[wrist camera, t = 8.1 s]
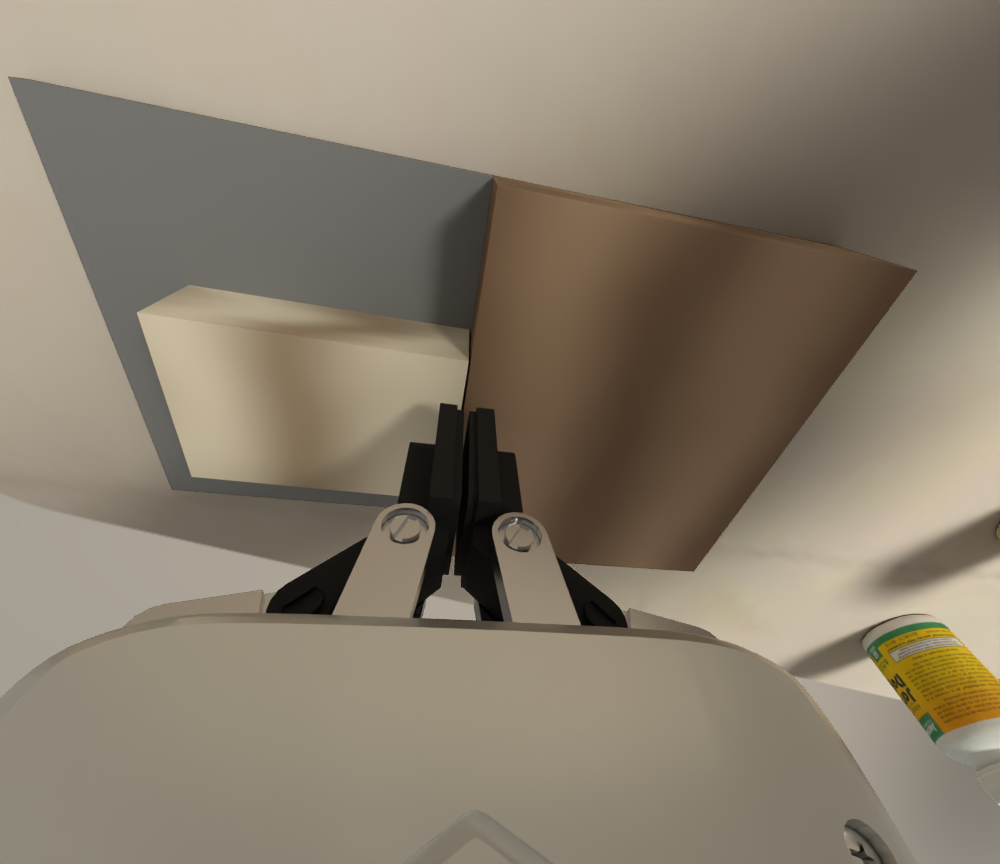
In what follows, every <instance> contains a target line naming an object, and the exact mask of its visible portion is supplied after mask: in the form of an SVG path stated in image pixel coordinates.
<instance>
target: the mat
mask: <svg viewBox="0 0 1000 864" xmlns="http://www.w3.org/2000/svg"><path fill="white" fill-rule="evenodd" d="M8 78H9V80H10V83H11V85H12V88H13V91H14V93H15V96H16V98H17V101H18V103H19V106H20V108H21V111H22V113H23V116H24V118H25V121H26V123H27V126H28V128H29V131H30V133H31V136H32V138H33V141H34V143H35V146H36V148H37V151H38V153H39V156H40V159H41V161H42V164H43V166H44V169H45V171H46V174H47V176H48V179H49V181H50V184H51V186H52V189H53V191H54V194H55V196H56V199H57V201H58V204H59V206H60V209H61V211H62V214H63V216H64V219H65V221H66V224H67V227H68V229H69V232H70V234H71V237H72V239H73V242H74V244H75V247H76V249H77V252H78V254H79V257H80V259H81V262H82V264H83V267H84V269H85V272H86V274H87V277H88V279H89V282H90V284H91V287H92V289H93V292H94V295H95V297H96V300H97V302H98V305H99V307H100V310H101V312H102V315H103V317H104V320H105V322H106V325H107V327H108V330H109V332H110V335H111V337H112V340H113V342H114V345H115V347H116V350H117V352H118V355H119V358H120V360H121V363H122V365H123V368H124V370H125V373H126V375H127V378H128V380H129V383H130V385H131V388H132V390H133V393H134V395H135V398H136V400H137V403H138V405H139V408H140V410H141V413H142V415H143V418H144V420H145V423H146V426H147V428H148V431H149V433H150V436H151V438H152V441H153V443H154V446H155V448H156V451H157V453H158V456H159V458H160V461H161V463H162V466H163V468H164V471H165V473H166V476H167V478H168V481H169V483H170V486H171V488H172V490H182V491H194V492H207V493H219V494H231V495H243V496H256V497H268V498H280V499H292V500H305V501H317V502H329V503H341V504H354V505H366V506H378V507H390V506H393V505H395V504H397V503H398V498H399V496H392V495H381V494H371V493H360V492H349V491H338V490H328V489H317V488H306V487H296V486H285V485H274V484H263V483H253V482H242V481H231V480H220V479H210V478H199V477H191V474H190V471H189V468H188V465H187V462H186V459H185V456H184V453H183V450H182V447H181V444H180V441H179V438H178V435H177V432H176V429H175V426H174V423H173V420H172V417H171V414H170V411H169V408H168V405H167V402H166V399H165V396H164V393H163V390H162V387H161V384H160V381H159V378H158V375H157V372H156V369H155V366H154V363H153V360H152V357H151V354H150V351H149V348H148V345H147V342H146V339H145V336H144V333H143V330H142V327H141V324H140V321H139V318H138V315H137V312H139V311H141V310H143V309H144V308H146V307H148V306H150V305H152V304H154V303H156V302H158V301H160V300H161V299H163V298H165V297H167V296H169V295H171V294H173V293H175V292H176V291H178V290H180V289H182V288H184V287H186V286H188V285H192V286H199V287H205V288H211V289H218V290H224V291H230V292H236V293H243V294H249V295H255V296H261V297H268V298H274V299H280V300H287V301H293V302H299V303H305V304H312V305H318V306H324V307H331V308H337V309H343V310H349V311H356V312H362V313H368V314H375V315H381V316H387V317H393V318H400V319H406V320H412V321H418V322H425V323H431V324H437V325H444V326H450V327H456V328H462V329H469V342H470V335H471V328H472V321H473V314H474V307H475V300H476V293H477V286H478V279H479V272H480V265H481V258H482V251H483V244H484V237H485V230H486V223H487V216H488V209H489V202H490V196H491V189H492V182H493V175H489V174H484V173H479V172H474V171H469V170H465V169H460V168H455V167H450V166H445V165H440V164H436V163H431V162H426V161H421V160H416V159H411V158H407V157H402V156H397V155H392V154H387V153H382V152H378V151H373V150H368V149H363V148H358V147H353V146H349V145H344V144H339V143H334V142H329V141H324V140H320V139H315V138H310V137H305V136H300V135H295V134H291V133H286V132H281V131H276V130H271V129H266V128H262V127H257V126H252V125H247V124H242V123H237V122H233V121H228V120H223V119H218V118H213V117H208V116H204V115H199V114H194V113H189V112H184V111H179V110H175V109H170V108H165V107H160V106H155V105H150V104H146V103H141V102H136V101H131V100H126V99H121V98H117V97H112V96H107V95H102V94H97V93H92V92H88V91H83V90H78V89H73V88H68V87H63V86H59V85H54V84H49V83H44V82H39V81H34V80H30V79H24V78H16V77H8Z"/></svg>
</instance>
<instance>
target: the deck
mask: <svg viewBox="0 0 1000 864" xmlns="http://www.w3.org/2000/svg"><path fill="white" fill-rule="evenodd" d="M916 272H917V271H916V270H913V269H909V268H906V267H903V266H900V265H896V264H893V263H890V262H886V261H883V260H880V259H877V258H873V257H870V256H867V255H864V254H860V253H857V252H854V251H851V250H847V249H844V248H841V247H837V246H832V245H827V244H822V243H817V242H812V241H808V240H803V239H798V238H793V237H788V236H783V235H779V234H774V233H769V232H764V231H759V230H754V229H750V228H745V227H740V226H735V225H730V224H725V223H721V222H716V221H711V220H706V219H701V218H696V217H692V216H687V215H682V214H677V213H672V212H667V211H663V210H658V209H653V208H648V207H643V206H638V205H634V204H629V203H624V202H619V201H614V200H609V199H605V198H600V197H595V196H590V195H585V194H580V193H576V192H571V191H566V190H561V189H556V188H552V187H547V186H542V185H537V184H532V183H527V182H523V181H518V180H513V179H508V178H503V177H498V176H494V175H493V182H492V189H491V196H490V202H489V209H488V216H487V223H486V230H485V237H484V244H483V251H482V258H481V265H480V272H479V279H478V286H477V293H476V300H475V307H474V314H473V321H472V328H471V335H470V342H469V363H468V369H467V376H466V382H465V388H464V395H463V401H462V407H461V410H464V432H463V447H464V440H465V434H466V428H467V422H468V415H469V411H473V412H476V408H477V407H479V408H487V409H494V411H495V424H496V436H497V448H498V451H502V452H512V453H515V456H516V463H517V470H518V478H519V485H520V493H521V500H522V507H523V513H524V514H527V515H530V516H532V517H533V518H535V519H537V520H538V521H539V522H540V523H541V524H542V525H543V526H544V528H545V530H546V532H547V534H548V537H549V540H550V542H551V545H552V548H553V550H554V553H555V555H556V556H557V557H558V558H560V559H561V560H562V561H563V562H565V563H572V564H587V565H602V566H618V567H633V568H648V569H663V570H678V571H693V572H694V570H695V569H696V568H697V566H698V565H699V564H700V562H701V561H702V560H703V558H704V557H705V556H706V554H707V553H708V552H709V550H710V549H711V548H712V546H713V545H714V544H715V542H716V541H717V540H718V538H719V537H720V535H721V534H722V533H723V531H724V530H725V529H726V527H727V526H728V525H729V523H730V522H731V521H732V519H733V518H734V517H735V515H736V514H737V513H738V511H739V510H740V509H741V507H742V506H743V505H744V503H745V502H746V501H747V499H748V498H749V496H750V495H751V494H752V492H753V491H754V490H755V488H756V487H757V486H758V484H759V483H760V482H761V480H762V479H763V478H764V476H765V475H766V474H767V472H768V471H769V470H770V468H771V467H772V466H773V464H774V463H775V462H776V460H777V459H778V458H779V456H780V455H781V453H782V452H783V451H784V449H785V448H786V447H787V445H788V444H789V443H790V441H791V440H792V439H793V437H794V436H795V435H796V433H797V432H798V431H799V429H800V428H801V427H802V425H803V424H804V423H805V421H806V420H807V419H808V417H809V416H810V414H811V413H812V412H813V410H814V409H815V408H816V406H817V405H818V404H819V402H820V401H821V400H822V398H823V397H824V396H825V394H826V393H827V392H828V390H829V389H830V388H831V386H832V385H833V384H834V382H835V381H836V380H837V378H838V377H839V375H840V374H841V373H842V371H843V370H844V369H845V367H846V366H847V365H848V363H849V362H850V361H851V359H852V358H853V357H854V355H855V354H856V353H857V351H858V350H859V349H860V347H861V346H862V345H863V343H864V342H865V341H866V339H867V338H868V336H869V335H870V334H871V332H872V331H873V330H874V328H875V327H876V326H877V324H878V323H879V322H880V320H881V319H882V318H883V316H884V315H885V314H886V312H887V311H888V310H889V308H890V307H891V306H892V304H893V303H894V302H895V300H896V299H897V298H898V296H899V295H900V293H901V292H902V291H903V289H904V288H905V287H906V285H907V284H908V283H909V281H910V280H911V279H912V277H913V276H914V275H915V273H916ZM455 542H456V534H455V540H454V546H453V551H452V556H455Z"/></svg>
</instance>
